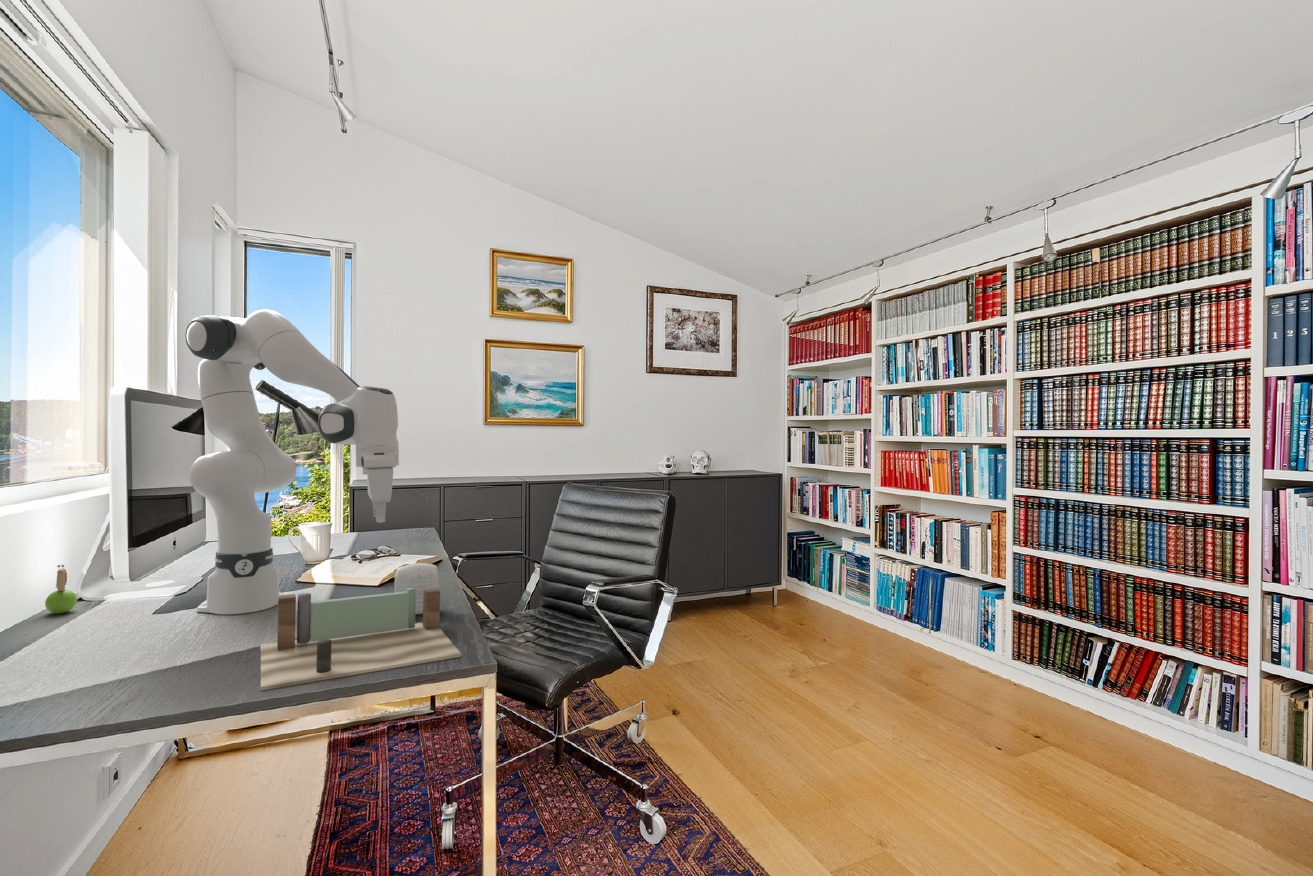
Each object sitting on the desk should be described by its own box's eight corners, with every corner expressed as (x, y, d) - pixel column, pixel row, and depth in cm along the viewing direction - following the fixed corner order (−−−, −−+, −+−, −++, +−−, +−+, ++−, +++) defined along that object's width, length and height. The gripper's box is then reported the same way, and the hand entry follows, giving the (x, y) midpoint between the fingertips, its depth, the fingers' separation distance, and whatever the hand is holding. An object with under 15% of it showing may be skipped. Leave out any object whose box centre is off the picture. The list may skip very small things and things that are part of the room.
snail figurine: (43, 619, 142) (44, 566, 142) (45, 612, 147) (46, 561, 147) (76, 614, 146) (76, 563, 146) (77, 608, 151) (77, 558, 150)
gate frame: (260, 647, 129) (261, 594, 129) (433, 623, 147) (434, 577, 147) (260, 690, 109) (261, 627, 108) (461, 656, 127) (462, 602, 127)
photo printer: (434, 608, 159) (436, 560, 159) (439, 612, 156) (440, 563, 156) (391, 614, 154) (393, 564, 153) (395, 618, 150) (396, 567, 150)
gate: (297, 644, 128) (298, 596, 128) (296, 640, 130) (297, 594, 130) (416, 627, 140) (417, 584, 140) (413, 624, 142) (414, 582, 142)
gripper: (360, 457, 148) (361, 516, 148) (364, 460, 130) (365, 526, 130) (389, 456, 151) (390, 513, 151) (396, 459, 133) (398, 523, 133)
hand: (379, 519), depth 141 cm, fingers open, 8 cm apart
